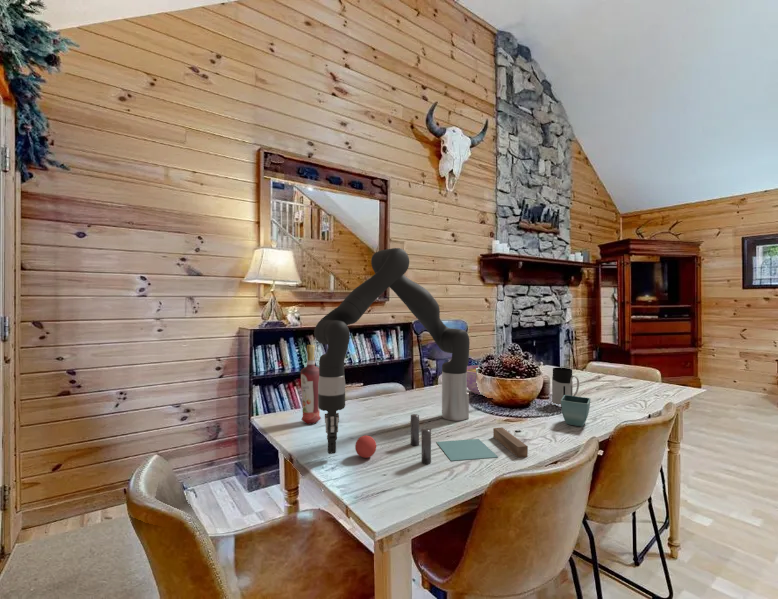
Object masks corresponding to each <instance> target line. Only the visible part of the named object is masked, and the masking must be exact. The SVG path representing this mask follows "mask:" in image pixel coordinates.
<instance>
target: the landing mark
mask: <svg viewBox="0 0 778 599" xmlns="http://www.w3.org/2000/svg"><path fill="white" fill-rule="evenodd" d="M436 444H437V445H438V447H439V448H440V449H441V450H442V452H443V451H444V452H443V453H444V454H445V455H446V457H447V458H448V459H449V460H450V462H456V461H457V462H459V461H469V460H471V461H472V460H481V459H483V460H484V459H493V458H496V459H497V458H499V456H498V455H497V454H496V453H495V452H494V451H493V450H492V449H490V448H489V447H488V446H487V445H486V444H485V443H484V442H483V441H482V440H480V439H479V438H472V439H457V440H443V441H442V440H441V441H436Z"/></svg>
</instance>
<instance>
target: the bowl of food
mask: <svg viewBox="0 0 778 599" xmlns="http://www.w3.org/2000/svg"><path fill="white" fill-rule="evenodd" d="M478 366H479V365H468V366H467V389H468V391H470V392H471V393H474V394H475V395H476V394H478V395H480V392H479V390H478V387H477V383H476V368H478ZM478 395H477V396H478Z"/></svg>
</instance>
